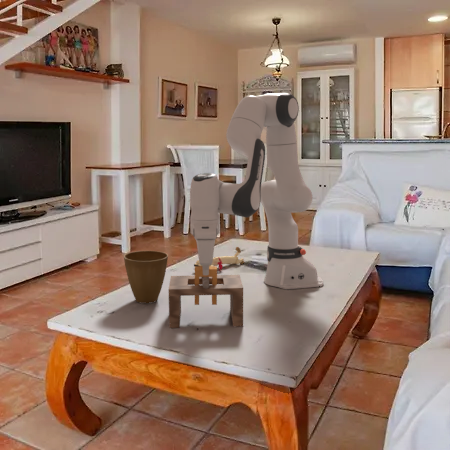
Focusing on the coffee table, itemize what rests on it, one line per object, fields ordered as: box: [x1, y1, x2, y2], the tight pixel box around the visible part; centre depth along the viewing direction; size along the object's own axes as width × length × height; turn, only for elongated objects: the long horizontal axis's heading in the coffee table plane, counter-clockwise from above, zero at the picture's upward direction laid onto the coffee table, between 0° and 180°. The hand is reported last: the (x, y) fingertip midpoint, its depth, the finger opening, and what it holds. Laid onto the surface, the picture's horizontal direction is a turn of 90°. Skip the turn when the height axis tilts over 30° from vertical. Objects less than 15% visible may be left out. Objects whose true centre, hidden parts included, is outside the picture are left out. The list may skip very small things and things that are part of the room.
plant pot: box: [123, 250, 169, 304], centre depth 177 cm, size 15×15×16 cm
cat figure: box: [193, 246, 245, 271], centre depth 218 cm, size 10×9×25 cm
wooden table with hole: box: [168, 274, 244, 329], centre depth 159 cm, size 22×14×14 cm, turn 93°
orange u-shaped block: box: [194, 266, 218, 306], centre depth 159 cm, size 7×3×11 cm, turn 93°
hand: (205, 272), depth 158 cm, fingers open, 5 cm apart
